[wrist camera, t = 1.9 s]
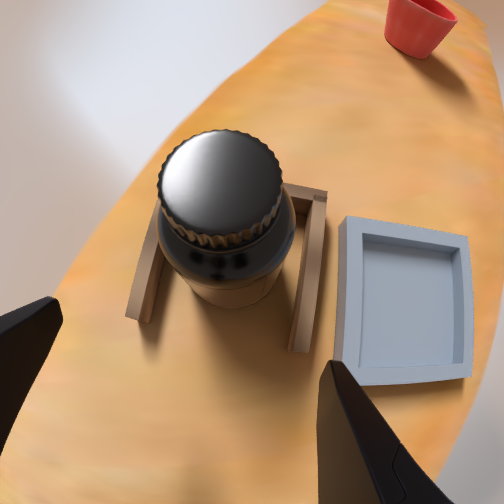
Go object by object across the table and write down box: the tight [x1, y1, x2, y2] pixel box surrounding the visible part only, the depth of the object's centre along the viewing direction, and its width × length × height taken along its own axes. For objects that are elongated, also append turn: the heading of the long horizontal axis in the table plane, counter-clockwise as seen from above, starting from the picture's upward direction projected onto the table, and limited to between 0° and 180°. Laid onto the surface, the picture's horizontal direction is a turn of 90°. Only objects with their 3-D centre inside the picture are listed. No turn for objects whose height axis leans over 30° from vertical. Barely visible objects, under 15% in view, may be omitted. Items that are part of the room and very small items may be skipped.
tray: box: [333, 216, 474, 386], centre depth 21 cm, size 12×12×2 cm
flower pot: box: [384, 0, 457, 59], centre depth 29 cm, size 11×11×10 cm
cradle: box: [125, 183, 327, 353], centre depth 21 cm, size 12×12×2 cm
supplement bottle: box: [156, 129, 296, 309], centre depth 17 cm, size 7×7×12 cm
